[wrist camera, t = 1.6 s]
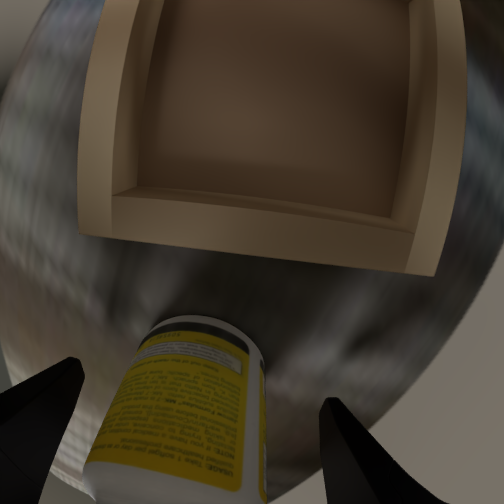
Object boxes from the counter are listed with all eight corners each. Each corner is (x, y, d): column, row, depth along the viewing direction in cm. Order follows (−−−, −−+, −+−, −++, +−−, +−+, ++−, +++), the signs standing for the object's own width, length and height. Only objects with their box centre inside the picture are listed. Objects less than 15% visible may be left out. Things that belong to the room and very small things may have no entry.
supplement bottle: (120, 337, 10) (23, 522, 2) (219, 288, 9) (154, 586, 1) (192, 410, 11) (159, 576, 4) (286, 380, 11) (300, 588, 3)
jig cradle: (403, 256, 9) (437, 288, 6) (110, 220, 8) (71, 244, 6) (428, 0, 5) (461, -22, 3) (152, -41, 5) (129, -74, 3)
